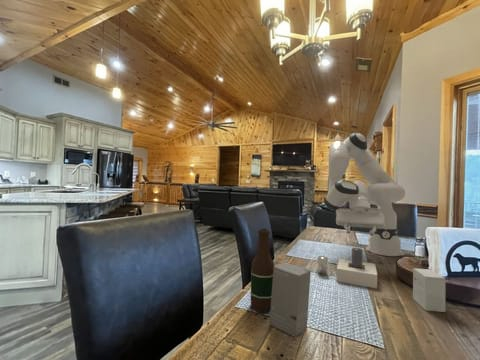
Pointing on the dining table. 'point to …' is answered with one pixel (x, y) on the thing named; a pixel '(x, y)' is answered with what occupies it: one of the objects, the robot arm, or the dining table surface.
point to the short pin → (322, 265)
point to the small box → (429, 289)
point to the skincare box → (290, 298)
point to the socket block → (357, 274)
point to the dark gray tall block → (357, 258)
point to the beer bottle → (262, 275)
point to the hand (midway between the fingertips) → (359, 233)
